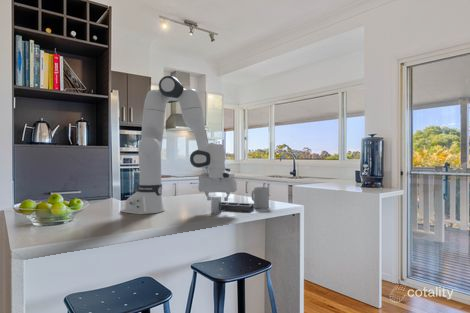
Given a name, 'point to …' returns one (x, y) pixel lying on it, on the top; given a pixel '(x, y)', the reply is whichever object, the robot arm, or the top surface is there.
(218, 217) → the top surface
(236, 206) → the black compartment tray
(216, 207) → the steel block
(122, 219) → the top surface
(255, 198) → the mug
